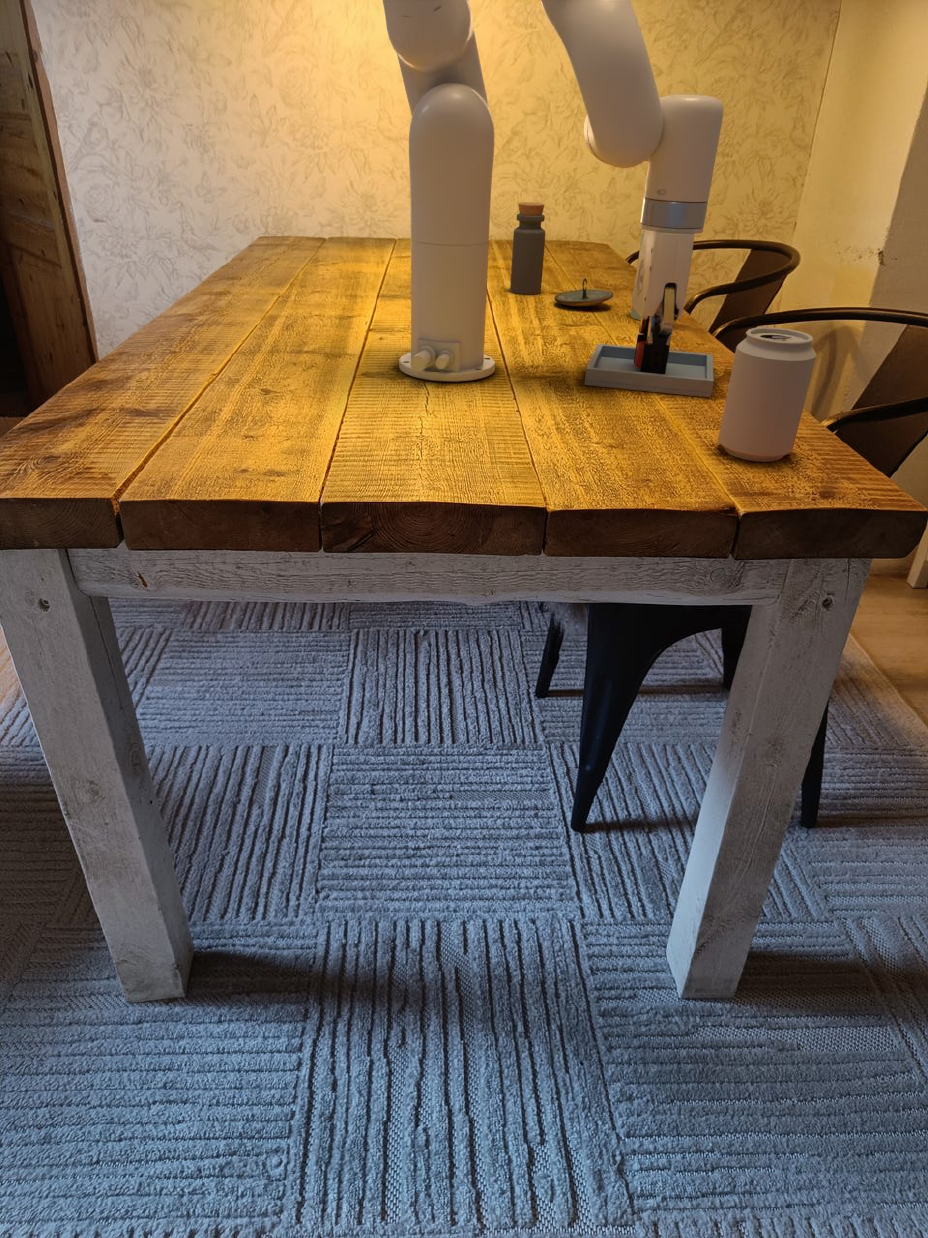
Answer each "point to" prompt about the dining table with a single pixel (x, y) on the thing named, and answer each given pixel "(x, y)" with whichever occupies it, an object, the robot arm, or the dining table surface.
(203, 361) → the dining table surface
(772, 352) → the can
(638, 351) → the cap
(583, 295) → the lid
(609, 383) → the tray
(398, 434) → the dining table surface
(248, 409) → the dining table surface
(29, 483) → the dining table surface
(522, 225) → the bottle
